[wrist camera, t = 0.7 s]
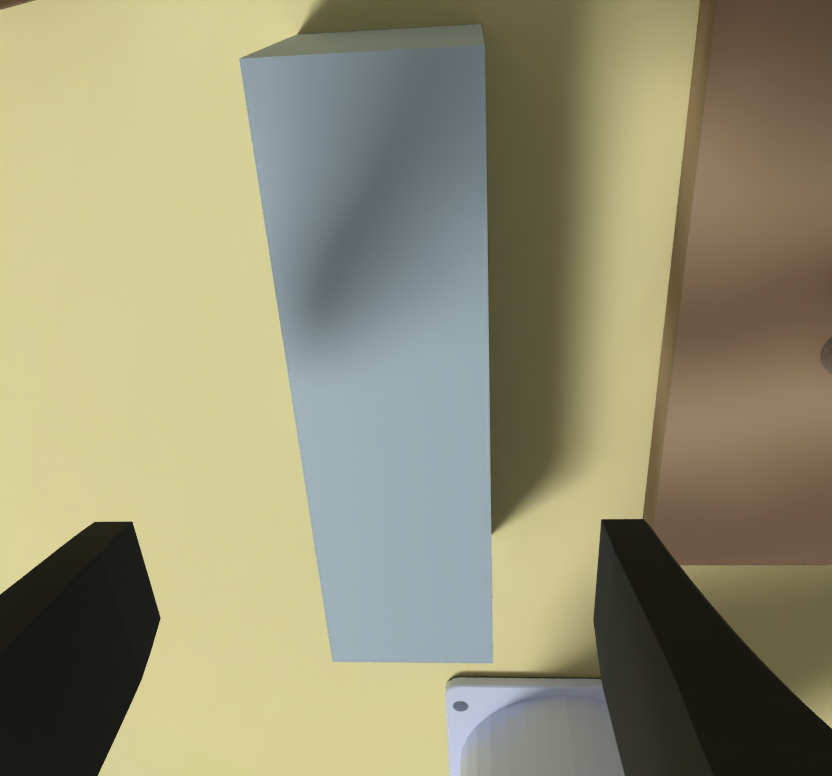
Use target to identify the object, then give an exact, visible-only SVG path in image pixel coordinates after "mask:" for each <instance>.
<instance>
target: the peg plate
mask: <svg viewBox="0 0 832 776" xmlns="http://www.w3.org/2000/svg"><path fill="white" fill-rule="evenodd" d="M643 519H644V520H645V521H646V522H647V523H648V524H649V525H650V526H651V528H652V529H653V530H654V532H655V533H656V535H657V536H658V537H659V539H660V540H661V541H662V543H663V544H664V546H665V547H666V548H667V550H668V551H669V552H670V554H671V555H672V556H673V558H674V559H675V560H676V562H677V563H678V564H679V565H832V0H700V7H699V16H698V25H697V34H696V43H695V52H694V62H693V71H692V80H691V89H690V98H689V107H688V116H687V125H686V134H685V143H684V152H683V161H682V170H681V179H680V188H679V197H678V206H677V215H676V224H675V233H674V242H673V251H672V260H671V269H670V278H669V287H668V296H667V305H666V314H665V323H664V332H663V341H662V350H661V359H660V368H659V377H658V386H657V395H656V405H655V414H654V423H653V432H652V441H651V450H650V459H649V468H648V477H647V486H646V495H645V504H644V513H643Z"/></svg>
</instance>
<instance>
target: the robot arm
mask: <svg viewBox="0 0 832 776" xmlns="http://www.w3.org/2000/svg"><path fill="white" fill-rule="evenodd" d="M159 622H160V615H159V611H158V608H157V604H156V601H155V598H154V594H153V591H152V587H151V584H150V581H149V577H148V574H147V570H146V567H145V563H144V560H143V557H142V553H141V550H140V546H139V543H138V539H137V536H136V533H135V529H134V526H133V522H94V523H93V524H91V525H90V526H88V527H87V528H86V529H84V530H83V531H81V532H80V533H79V534H77V535H76V536H75V537H73V538H72V539H71V540H69V541H68V542H67V543H65V544H64V545H63V546H62V547H60V548H59V549H58V550H56V551H55V552H54V553H53V554H51V555H50V556H49V557H48V558H46V559H45V560H44V561H43V562H41V563H40V564H39V565H37V566H36V567H35V568H34V569H32V570H31V571H30V572H29V573H27V574H26V575H25V576H23V577H22V578H21V579H20V580H18V581H17V582H16V583H14V584H13V585H12V586H11V587H9V588H8V589H7V590H5V591H4V592H3V593H2V594H0V776H98V774H99V772H100V769H101V767H102V765H103V763H104V761H105V759H106V757H107V754H108V752H109V750H110V748H111V746H112V744H113V742H114V739H115V737H116V735H117V733H118V731H119V729H120V726H121V724H122V722H123V720H124V718H125V715H126V713H127V711H128V709H129V707H130V704H131V702H132V700H133V698H134V696H135V693H136V691H137V689H138V686H139V684H140V682H141V680H142V677H143V674H144V671H145V668H146V664H147V661H148V658H149V655H150V652H151V649H152V646H153V642H154V639H155V635H156V632H157V629H158V625H159ZM594 628H595V636H596V644H597V651H598V659H599V666H600V673H601V679H561V678H471V677H459V678H454V679H452V680H450V681H449V682H448V683H447V684H446V714H447V734H448V753H449V772H450V776H832V729H831V728H830V727H829V726H828V725H827V724H826V723H825V722H824V721H823V720H822V719H820V718H819V717H818V716H817V715H816V714H815V713H814V712H813V711H812V710H811V709H809V708H808V707H807V706H806V705H805V704H804V703H803V702H802V701H801V700H800V699H799V698H798V697H797V696H796V695H795V694H794V693H793V692H792V691H791V690H790V689H789V688H788V687H787V686H786V685H785V684H784V683H783V682H782V681H781V680H780V679H779V678H778V677H777V676H776V675H775V674H774V673H773V672H772V671H771V670H770V669H769V668H768V667H767V666H766V665H765V664H764V663H763V662H762V661H761V660H760V659H759V658H758V657H757V656H756V654H755V653H754V652H753V651H752V650H751V649H750V648H749V647H748V646H747V645H746V644H745V643H744V642H743V640H742V639H741V638H740V637H739V636H738V635H737V634H736V633H735V632H734V631H733V629H732V628H731V627H730V626H729V625H728V624H727V622H726V621H725V620H724V619H723V618H722V617H721V615H720V614H719V613H718V612H717V611H716V610H715V608H714V607H713V606H712V605H711V604H710V603H709V601H708V600H707V599H706V598H705V597H704V595H703V594H702V593H701V592H700V591H699V589H698V588H697V587H696V586H695V584H694V583H693V582H692V581H691V579H690V578H689V577H688V576H687V574H686V573H685V572H684V571H683V569H682V568H681V567H680V565H679V564H678V563H677V562H676V560H675V559H674V558H673V556H672V555H671V554H670V552H669V551H668V550H667V548H666V547H665V546H664V544H663V543H662V541H661V540H660V539H659V537H658V536H657V535H656V533H655V532H654V530H653V529H652V528H651V526H650V525H649V524H648V523H647V522H646V521H645V520H644V519H601V532H600V544H599V557H598V570H597V583H596V595H595V608H594ZM459 701H463V702H459Z"/></svg>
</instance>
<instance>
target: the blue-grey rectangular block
mask: <svg viewBox="0 0 832 776" xmlns="http://www.w3.org/2000/svg"><path fill="white" fill-rule="evenodd" d="M239 60H240V66H241V73H242V79H243V85H244V92H245V98H246V105H247V111H248V118H249V124H250V131H251V137H252V144H253V150H254V157H255V163H256V169H257V176H258V182H259V189H260V195H261V202H262V208H263V215H264V221H265V228H266V234H267V241H268V247H269V253H270V260H271V266H272V273H273V279H274V286H275V292H276V299H277V305H278V312H279V318H280V325H281V331H282V338H283V344H284V350H285V357H286V363H287V370H288V376H289V383H290V389H291V396H292V402H293V409H294V415H295V422H296V428H297V434H298V441H299V447H300V454H301V460H302V467H303V473H304V480H305V486H306V493H307V499H308V506H309V512H310V518H311V525H312V531H313V538H314V544H315V551H316V557H317V564H318V570H319V577H320V583H321V590H322V596H323V603H324V609H325V615H326V622H327V628H328V635H329V641H330V648H331V654H332V661H333V662H408V663H493V635H492V555H491V475H490V395H489V315H488V235H487V155H486V75H485V41H484V36H483V30H482V24H467V25H450V26H433V27H416V28H399V29H382V30H365V31H348V32H331V33H313V34H297V35H295V36H292V37H290V38H287V39H285V40H283V41H280V42H278V43H275V44H273V45H271V46H268V47H266V48H263V49H261V50H259V51H256V52H254V53H252V54H249V55H247V56H244V57H242V58H240V59H239Z"/></svg>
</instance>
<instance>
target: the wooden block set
mask: <svg viewBox="0 0 832 776" xmlns="http://www.w3.org/2000/svg"><path fill="white" fill-rule="evenodd" d="M31 1H35V0H0V10H1V9H5V8H8V7H12V6H16V5H20V4H23V3H27V2H31Z"/></svg>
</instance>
